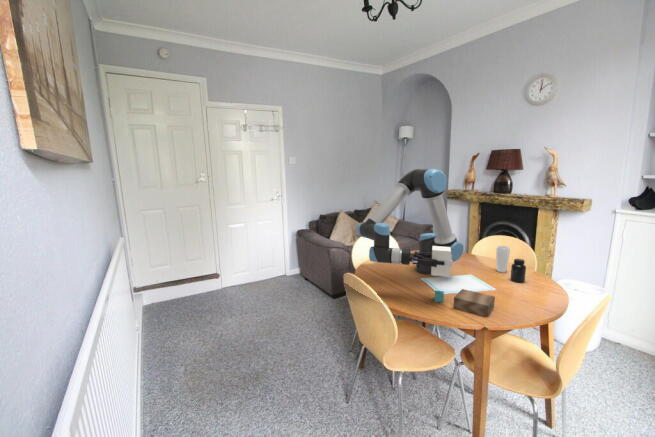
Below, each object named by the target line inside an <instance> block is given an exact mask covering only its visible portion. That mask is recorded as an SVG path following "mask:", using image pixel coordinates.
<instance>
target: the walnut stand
mask: <svg viewBox="0 0 655 437" xmlns="http://www.w3.org/2000/svg"><path fill="white" fill-rule="evenodd" d="M495 298H496V296H494V295H489V294H486V293H481V292H476V291H472V290H468V289H464V288H462V289H461V290H460V291H459V292H458V293H457V294H456V295H455V296H454V297H453V309H457V310H459V311H464V312H467V313H471V314H475V315H479V316H482V317H485V318H489V316H490V315H491V312H492V311H493V309H494V308H495V303H496V302H495Z"/></svg>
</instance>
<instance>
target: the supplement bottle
mask: <svg viewBox="0 0 655 437" xmlns="http://www.w3.org/2000/svg"><path fill="white" fill-rule="evenodd" d="M525 262H526V260H524V259H522V258H514V260H513V263H512V264H511V266H510V268H511V269H510V281H511V282H514V283H525V281H526V274H527V272H526V270H527V266H526V265H525Z"/></svg>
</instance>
